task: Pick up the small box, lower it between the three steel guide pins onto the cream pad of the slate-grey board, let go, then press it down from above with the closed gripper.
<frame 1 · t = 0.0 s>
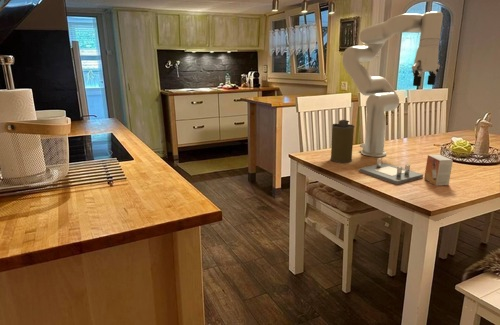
hand: (423, 85, 148), 37 cm above the table, tool pointing down, fingers open, 9 cm apart
canister: (340, 160, 169), on the table
pin board: (389, 174, 147), on the table
guide pins: (390, 166, 146), on the pin board, point 4 cm above the table
small box: (436, 182, 137), on the table
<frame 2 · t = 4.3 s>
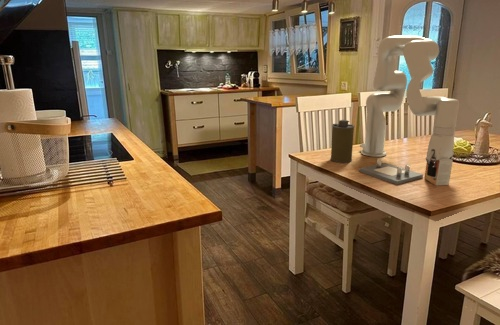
hand: (437, 174, 136), 3 cm above the table, tool pointing down, fingers closed on small box, 7 cm apart
small box: (436, 182, 137), on the table, touching gripper
everything else where it was.
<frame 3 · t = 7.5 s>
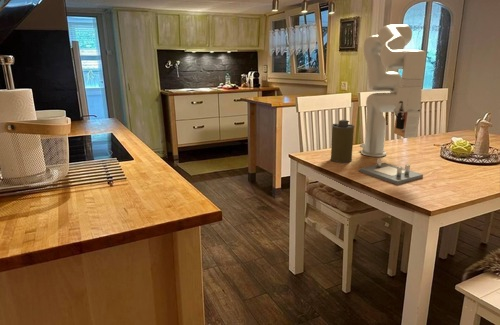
hand: (405, 127, 138), 21 cm above the table, tool pointing down, fingers closed on small box, 7 cm apart
small box: (404, 135, 140), point 18 cm above the table, touching gripper
everything else where it was.
when the fingers open (5 cm above the table, at t = 10.9 s): small box stays where it is, resting on pin board.
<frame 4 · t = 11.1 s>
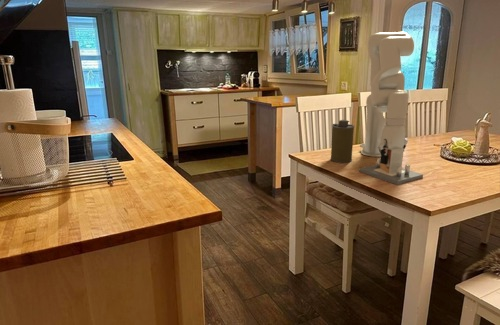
hand: (391, 161, 145), 6 cm above the table, tool pointing down, fingers open, 8 cm apart
small box: (390, 171, 146), point 1 cm above the table, touching pin board
everything else where it was.
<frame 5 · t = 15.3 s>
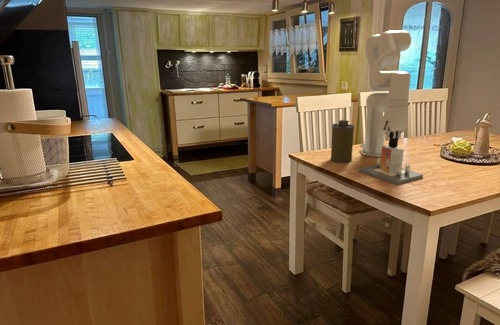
hand: (392, 146, 143), 12 cm above the table, tool pointing down, fingers closed
nothing on the table moved.
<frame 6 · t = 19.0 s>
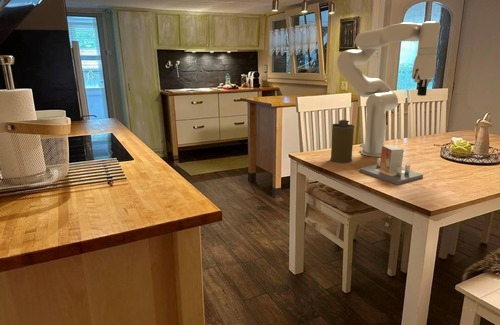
hand: (421, 95, 152), 32 cm above the table, tool pointing down, fingers closed
nothing on the table moved.
at the end: small box 0.2 cm off-centre on the pin board, point 1.5 cm above the pin board's base; small box tilted 0°; the gripper is holding nothing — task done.
